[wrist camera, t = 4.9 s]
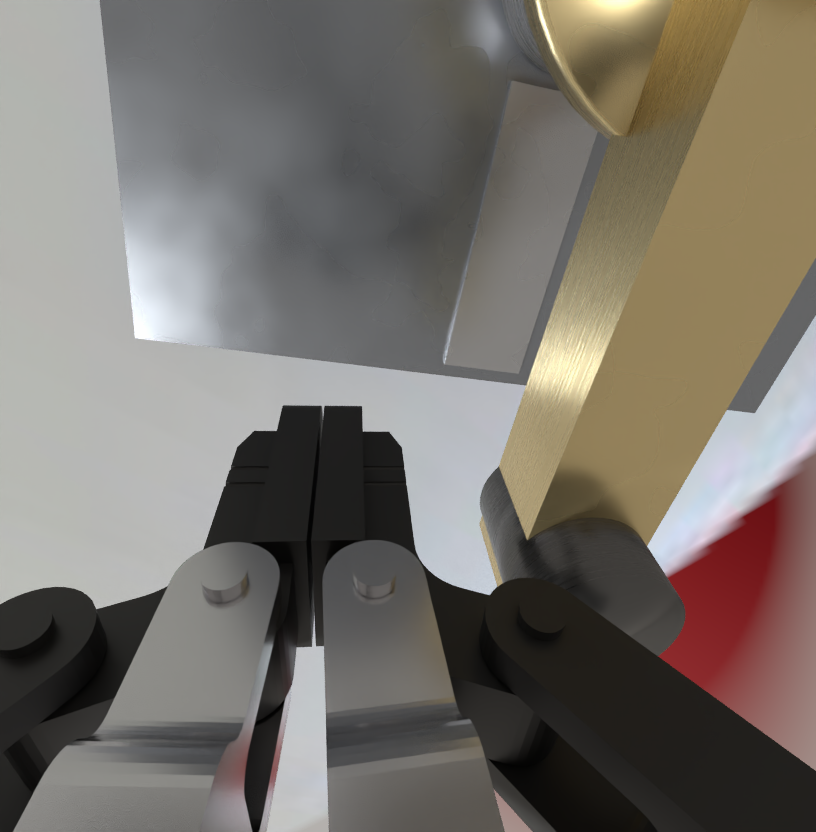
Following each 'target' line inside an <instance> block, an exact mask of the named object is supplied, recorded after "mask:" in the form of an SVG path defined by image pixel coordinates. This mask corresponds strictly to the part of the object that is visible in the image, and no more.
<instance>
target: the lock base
mask: <svg viewBox="0 0 816 832" xmlns="http://www.w3.org/2000/svg"><path fill="white" fill-rule="evenodd" d="M100 7H101V16H102V26H103V36H104V45H105V55H106V64H107V74H108V83H109V93H110V102H111V112H112V121H113V131H114V141H115V150H116V160H117V169H118V179H119V188H120V198H121V207H122V217H123V226H124V236H125V246H126V255H127V265H128V274H129V284H130V293H131V303H132V312H133V322H134V331H135V338H140V339H148V340H156V341H164V342H173V343H181V344H189V345H197V346H206V347H214V348H222V349H230V350H239V351H247V352H255V353H263V354H272V355H280V356H288V357H296V358H305V359H313V360H321V361H329V362H338V363H346V364H354V365H362V366H371V367H379V368H387V369H395V370H404V371H412V372H420V373H428V374H437V375H445V376H453V377H461V378H470V379H478V380H486V381H494V382H502V383H511V384H519V385H527V382H528V379H529V376H530V373H531V370H532V368H533V365H534V362H535V359H536V356H537V353H538V350H539V347H540V344H541V341H542V338H543V335H544V332H545V329H546V326H547V323H548V320H549V317H550V314H551V312H552V309H553V306H554V303H555V300H556V297H557V294H558V291H559V288H560V285H561V282H562V279H563V276H564V273H565V270H566V267H567V264H568V261H569V258H570V255H571V253H572V250H573V247H574V244H575V241H576V238H577V235H578V232H579V229H580V226H581V223H582V220H583V217H584V214H585V211H586V208H587V205H588V202H589V199H590V197H591V194H592V191H593V188H594V185H595V182H596V179H597V176H598V173H599V170H600V167H601V164H602V161H603V158H604V155H605V152H606V149H607V146H608V143H609V141H610V140H609V139H608V138H606V137H605V136H603V135H602V134H601V133H599V132H598V131H597V130H595V129H594V128H592V127H591V126H590V125H589V124H588V123H587V122H586V121H585V120H584V119H583V118H582V117H581V116H580V115H579V114H578V113H577V111H576V110H575V109H574V108H573V107H572V106H571V105H570V103H569V102H568V100H567V99H566V98H565V96H564V95H563V93H562V92H561V91H560V89H559V88H558V87H557V85H556V84H555V82H554V80H553V78H552V76H551V74H550V72H549V70H548V68H547V67H546V65H545V63H544V61H543V59H542V57H541V55H540V52H539V50H538V47H537V44H536V41H535V39H534V36H533V33H532V31H531V28H530V25H529V22H528V18H527V14H526V10H525V6H524V2H523V0H100ZM815 315H816V258H815V260H814V262H813V263H812V265H811V267H810V268H809V270H808V272H807V274H806V275H805V277H804V279H803V280H802V282H801V284H800V286H799V287H798V289H797V291H796V292H795V294H794V296H793V297H792V299H791V301H790V303H789V304H788V306H787V308H786V309H785V311H784V313H783V315H782V316H781V318H780V320H779V321H778V323H777V325H776V327H775V328H774V330H773V332H772V333H771V335H770V337H769V338H768V340H767V342H766V344H765V345H764V347H763V349H762V350H761V352H760V354H759V356H758V357H757V359H756V361H755V362H754V364H753V366H752V367H751V369H750V371H749V373H748V374H747V376H746V378H745V379H744V381H743V383H742V385H741V386H740V388H739V390H738V391H737V393H736V395H735V397H734V398H733V400H732V402H731V403H730V405H729V407H728V408H727V410H733V411H742V412H750V413H755V412H756V410H757V409H758V407H759V406H760V404H761V402H762V401H763V399H764V397H765V396H766V394H767V393H768V391H769V389H770V388H771V386H772V385H773V383H774V381H775V380H776V378H777V377H778V375H779V373H780V372H781V370H782V368H783V367H784V365H785V364H786V362H787V360H788V359H789V357H790V356H791V354H792V352H793V351H794V349H795V348H796V346H797V344H798V343H799V341H800V340H801V338H802V336H803V335H804V333H805V331H806V330H807V328H808V327H809V325H810V323H811V322H812V320H813V319H814V317H815Z"/></svg>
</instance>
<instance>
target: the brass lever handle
mask: <svg viewBox="0 0 816 832" xmlns="http://www.w3.org/2000/svg"><path fill="white" fill-rule="evenodd" d="M523 2H524V6H525V10H526V14H527V18H528V22H529V25H530V28H531V31H532V33H533V36H534V39H535V41H536V44H537V47H538V50H539V52H540V55H541V57H542V59H543V61H544V63H545V65H546V67H547V68H548V70H549V72H550V74H551V76H552V78H553V80H554V82H555V84H556V85H557V87H558V88H559V89H560V91H561V92H562V93H563V95H564V96H565V98H566V99H567V100H568V102H569V103H570V105H571V106H572V107H573V108H574V109H575V110H576V111H577V113H578V114H579V115H580V116H581V117H582V118H583V119H584V120H585V121H586V122H587V123H588V124H589V125H590V126H591V127H592V128H594V129H595V130H597V131H598V132H599V133H601V134H602V135H603V136H605V137H606V138H608V139H609V140H610V141H609V143H608V146H607V149H606V152H605V155H604V158H603V161H602V164H601V167H600V170H599V173H598V176H597V179H596V182H595V185H594V188H593V191H592V194H591V197H590V199H589V202H588V205H587V208H586V211H585V214H584V217H583V220H582V223H581V226H580V229H579V232H578V235H577V238H576V241H575V244H574V247H573V250H572V253H571V255H570V258H569V261H568V264H567V267H566V270H565V273H564V276H563V279H562V282H561V285H560V288H559V291H558V294H557V297H556V300H555V303H554V306H553V309H552V312H551V314H550V317H549V320H548V323H547V326H546V329H545V332H544V335H543V338H542V341H541V344H540V347H539V350H538V353H537V356H536V359H535V362H534V365H533V368H532V370H531V373H530V376H529V379H528V382H527V385H526V388H525V391H524V394H523V397H522V400H521V403H520V406H519V409H518V412H517V415H516V418H515V421H514V424H513V426H512V429H511V432H510V435H509V438H508V441H507V444H506V447H505V450H504V453H503V456H502V459H501V462H500V465H499V467H498V468H497V469H496V470H495V471H494V472H493V473H492V474H491V476H490V477H489V478H488V480H487V481H486V483H485V485H484V487H483V490H482V493H481V497H480V508H481V512H482V518H481V521H480V528H481V531H482V535H483V538H484V541H485V545H486V548H487V552H488V555H489V559H490V562H491V566H492V569H493V573H494V576H495V580H496V583H497V587H498V586H499V585H501V584H502V583H504V582H507V581H509V580H512V579H517V578H536V579H541V580H545V581H548V582H551V583H554V584H556V585H558V586H560V587H562V588H563V589H565V590H567V591H568V592H570V593H571V594H572V595H574V596H575V597H577V598H578V599H579V600H581V601H582V602H583V603H585V604H586V605H588V606H589V607H590V608H592V609H593V610H595V611H596V612H597V613H599V614H600V615H601V616H603V617H604V618H606V619H607V620H608V621H610V622H611V623H612V624H614V625H615V626H617V627H618V628H619V629H621V630H622V631H623V632H625V633H626V634H628V635H629V636H630V637H632V638H633V639H634V640H636V641H637V642H639V643H640V644H641V645H643V646H644V647H646V648H647V649H648V650H650V651H651V652H652V653H654V654H655V655H657V656H659V655H660V654H661V653H662V652H664V651H665V650H666V649H667V648H668V647H669V646H670V645H671V644H672V643H673V642H674V640H675V639H676V638H677V636H678V635H679V633H680V632H681V630H682V627H683V625H684V621H685V609H684V604H683V602H682V600H681V599H680V597H679V596H678V594H677V592H676V591H675V589H674V588H673V586H672V585H671V583H670V582H669V580H668V578H667V577H666V575H665V574H664V572H663V571H662V569H661V567H660V566H659V564H658V563H657V561H656V560H655V558H654V557H653V555H652V553H651V552H650V550H649V549H648V547H647V545H648V543H649V542H650V540H651V538H652V536H653V535H654V533H655V531H656V530H657V528H658V526H659V525H660V523H661V521H662V519H663V518H664V516H665V514H666V513H667V511H668V509H669V507H670V506H671V504H672V502H673V501H674V499H675V497H676V496H677V494H678V492H679V490H680V489H681V487H682V485H683V484H684V482H685V480H686V478H687V477H688V475H689V473H690V472H691V470H692V468H693V466H694V465H695V463H696V461H697V460H698V458H699V456H700V455H701V453H702V451H703V449H704V448H705V446H706V444H707V443H708V441H709V439H710V437H711V436H712V434H713V432H714V431H715V429H716V427H717V426H718V424H719V422H720V420H721V419H722V417H723V415H724V414H725V412H726V410H727V408H728V407H729V405H730V403H731V402H732V400H733V398H734V397H735V395H736V393H737V391H738V390H739V388H740V386H741V385H742V383H743V381H744V379H745V378H746V376H747V374H748V373H749V371H750V369H751V367H752V366H753V364H754V362H755V361H756V359H757V357H758V356H759V354H760V352H761V350H762V349H763V347H764V345H765V344H766V342H767V340H768V338H769V337H770V335H771V333H772V332H773V330H774V328H775V327H776V325H777V323H778V321H779V320H780V318H781V316H782V315H783V313H784V311H785V309H786V308H787V306H788V304H789V303H790V301H791V299H792V297H793V296H794V294H795V292H796V291H797V289H798V287H799V286H800V284H801V282H802V280H803V279H804V277H805V275H806V274H807V272H808V270H809V268H810V267H811V265H812V263H813V262H814V260H815V258H816V0H523Z"/></svg>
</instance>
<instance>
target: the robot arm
mask: <svg viewBox="0 0 816 832" xmlns="http://www.w3.org/2000/svg"><path fill="white" fill-rule="evenodd" d="M314 612H315V634H316V646H324V661H325V698H326V740H327V780H328V817H329V832H505V831H504V827H503V823H502V820H501V816H500V812H499V808H498V804H497V800H496V797H495V793H494V790H495V791H496V792H497V793H498V794H499V795H500V796H501V797H502V798H503V799H504V801H505V802H506V803H507V804H508V805H509V806H510V807H511V808H512V809H513V810H514V812H515V813H516V814H517V815H518V816H519V817H520V818H521V819H522V820H523V821H524V823H525V824H526V825H527V826H528V827H529V828H530V829H531V830H532V831H533V832H816V771H815V770H814V769H812V768H811V767H810V766H808V765H807V764H805V763H804V762H803V761H801V760H800V759H799V758H797V757H796V756H794V755H793V754H791V753H790V752H789V751H787V750H786V749H785V748H783V747H782V746H780V745H779V744H778V743H776V742H775V741H774V740H772V739H771V738H770V737H768V736H767V735H765V734H764V733H762V732H761V731H760V730H759V729H757V728H756V727H754V726H753V725H752V724H750V723H749V722H747V721H746V720H745V719H743V718H742V717H741V716H739V715H738V714H736V713H735V712H734V711H732V710H731V709H730V708H728V707H727V706H725V705H724V704H723V703H721V702H720V701H719V700H717V699H716V698H714V697H713V696H712V695H710V694H709V693H708V692H706V691H705V690H703V689H702V688H701V687H699V686H698V685H697V684H695V683H694V682H692V681H691V680H690V679H688V678H687V677H685V676H684V675H683V674H681V673H680V672H678V671H677V670H676V669H674V668H673V667H672V666H670V665H669V664H668V663H666V662H665V661H663V660H662V659H661V658H659V657H658V656H657V655H655V654H654V653H652V652H651V651H650V650H648V649H647V648H646V647H644V646H643V645H641V644H640V643H639V642H637V641H636V640H634V639H633V638H632V637H630V636H629V635H628V634H626V633H625V632H623V631H622V630H621V629H619V628H618V627H617V626H615V625H614V624H612V623H611V622H610V621H608V620H607V619H606V618H604V617H603V616H601V615H600V614H599V613H597V612H596V611H595V610H593V609H592V608H590V607H589V606H588V605H586V604H585V603H583V602H582V601H581V600H579V599H578V598H577V597H575V596H574V595H572V594H571V593H570V592H568V591H567V590H565V589H563V588H562V587H560V586H558V585H556V584H554V583H551V582H548V581H545V580H541V579H536V578H517V579H512V580H509V581H507V582H504V583H502V584H501V585H499V586H498V587H497V588H496V589H495V590H494V591H493V592H492V593H491V595H486V594H482V593H478V592H474V591H471V590H467V589H463V588H459V587H456V586H453V585H451V584H448V583H446V582H444V581H442V580H441V579H439V578H437V577H436V576H435V575H433V574H432V573H431V572H430V571H429V570H428V569H427V568H426V567H425V566H424V565H423V564H422V562H421V561H420V559H419V557H418V555H417V553H416V550H415V545H414V538H413V530H412V523H411V515H410V507H409V500H408V492H407V486H406V477H405V470H404V461H403V454H402V447H401V446H400V445H399V444H398V442H397V441H396V440H395V439H394V438H393V436H392V435H391V434H390V433H389V432H363V429H362V406H325V407H324V417H323V413H322V406H286V405H284V406H283V408H282V412H281V416H280V420H279V424H278V429H277V431H254V432H253V433H252V434H251V435H250V436H249V437H248V438H247V439H245V440H244V441H243V442H242V443H241V444H240V445H239V446H238V447H237V450H236V453H235V456H234V459H233V462H232V465H231V470H230V471H229V474H228V477H227V480H226V486H224V489H223V492H222V495H221V498H220V501H219V504H218V507H217V510H216V513H215V516H214V519H213V522H212V525H211V528H210V531H209V534H208V537H207V540H206V543H205V546H204V549H203V550H202V551H200V552H198V553H196V554H195V555H193V556H192V557H190V558H189V559H187V560H186V561H185V562H184V563H183V564H182V565H181V566H180V567H179V568H178V570H177V571H176V572H175V574H174V575H173V577H172V579H171V581H170V583H169V585H168V586H167V587H165V588H163V589H161V590H159V591H157V592H154V593H152V594H149V595H146V596H143V597H139V598H136V599H132V600H129V601H125V602H121V603H118V604H114V605H111V606H107V607H103V608H100V609H96V608H95V606H94V604H93V601H92V600H91V599H90V598H89V597H88V596H87V595H86V594H84V593H83V592H81V591H78V590H76V589H72V588H66V587H51V588H43V589H38V590H34V591H31V592H27V593H24V594H21V595H19V596H17V597H14V598H12V599H10V600H8V601H6V602H4V603H2V604H0V832H266V831H267V826H268V820H269V815H270V809H271V804H272V798H273V793H274V787H275V782H276V776H277V771H278V765H279V760H280V755H281V749H282V744H283V738H284V733H285V727H286V722H287V716H288V711H289V705H290V699H291V685H292V681H293V675H294V666H295V657H296V647H312V637H313V624H314ZM493 788H494V789H493Z"/></svg>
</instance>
